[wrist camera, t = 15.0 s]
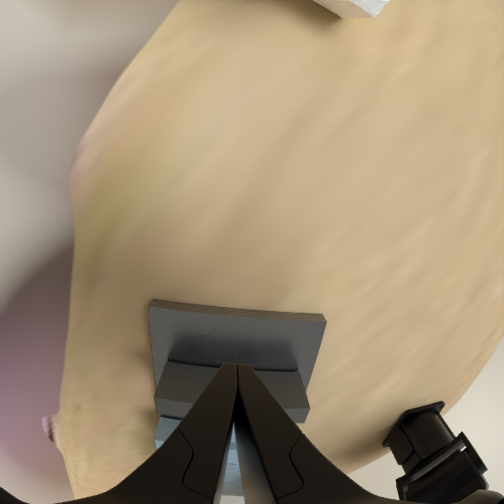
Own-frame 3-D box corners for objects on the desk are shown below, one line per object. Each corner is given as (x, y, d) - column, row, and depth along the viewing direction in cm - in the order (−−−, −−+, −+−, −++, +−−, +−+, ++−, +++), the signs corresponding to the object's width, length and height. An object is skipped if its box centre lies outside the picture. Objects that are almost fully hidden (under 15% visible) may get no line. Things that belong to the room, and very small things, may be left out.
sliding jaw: (313, 371, 17) (325, 407, 14) (287, 442, 20) (293, 472, 16) (151, 358, 16) (137, 394, 13) (163, 433, 19) (156, 463, 15)
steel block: (271, 440, 20) (278, 495, 14) (265, 460, 21) (269, 509, 15) (180, 434, 19) (171, 489, 13) (183, 454, 20) (176, 503, 14)
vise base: (322, 314, 17) (340, 346, 14) (274, 463, 22) (277, 489, 19) (153, 299, 16) (134, 329, 13) (171, 456, 22) (167, 482, 18)
